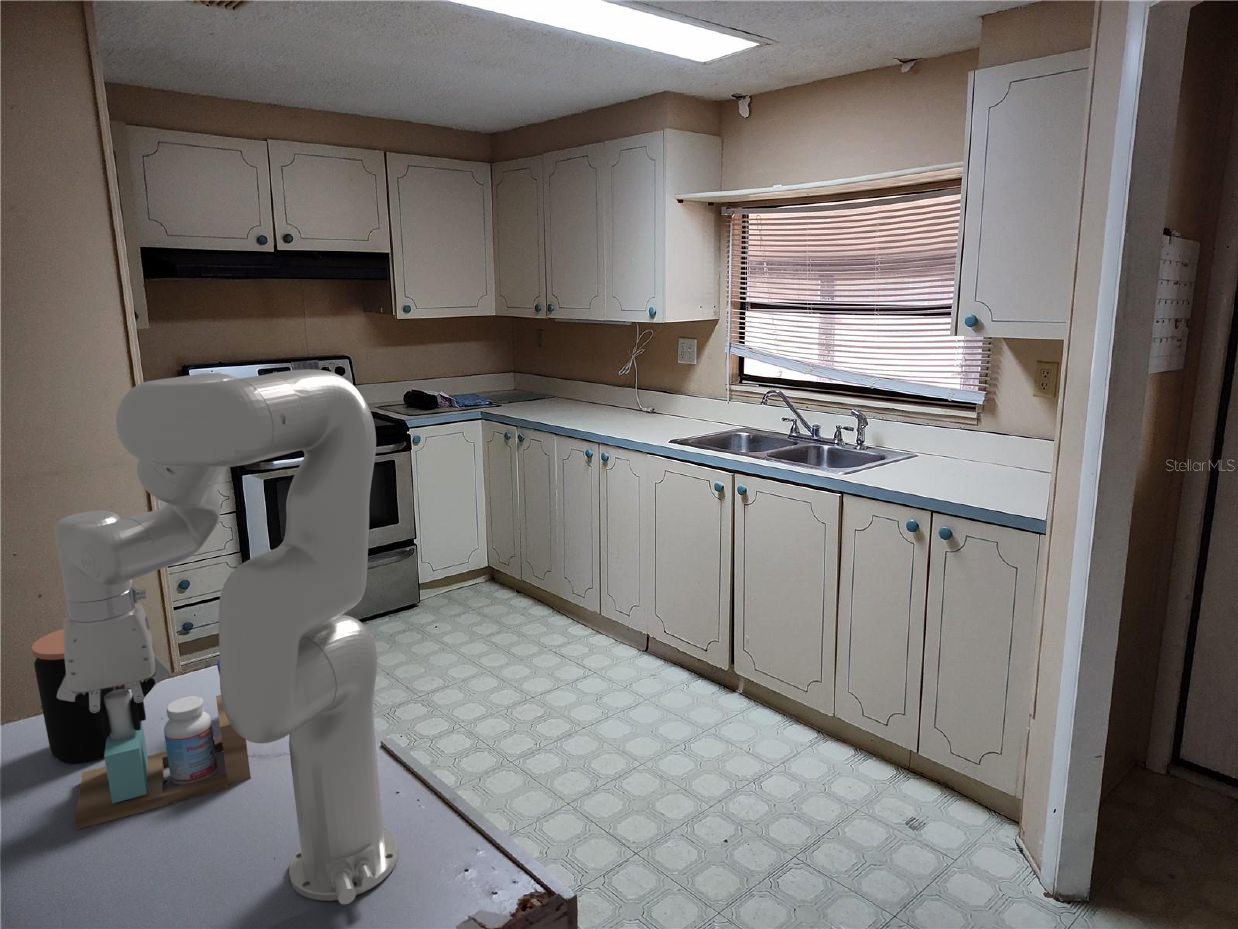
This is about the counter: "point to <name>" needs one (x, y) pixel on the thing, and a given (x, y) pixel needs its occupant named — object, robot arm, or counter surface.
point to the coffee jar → (65, 707)
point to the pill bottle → (189, 741)
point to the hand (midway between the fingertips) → (122, 728)
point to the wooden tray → (161, 781)
